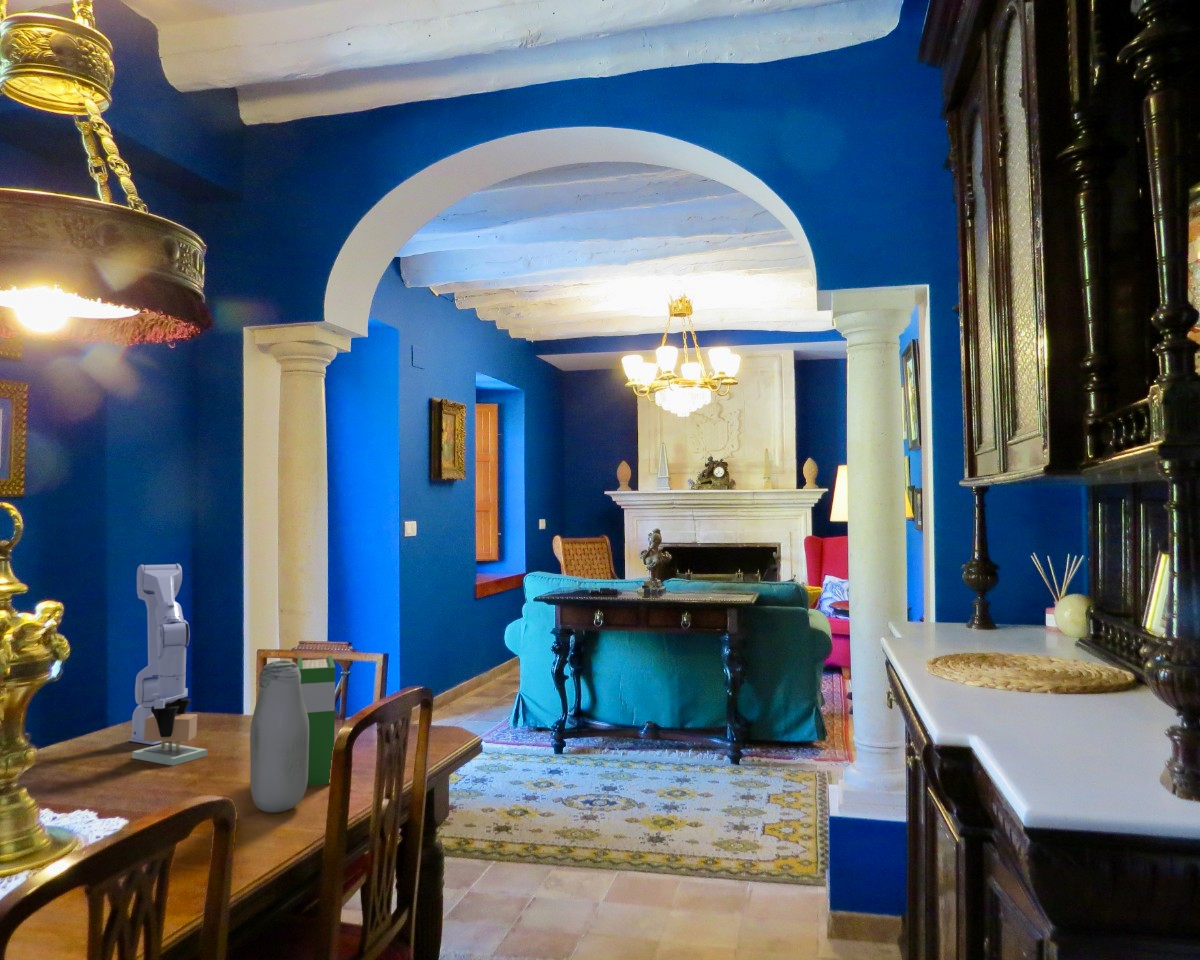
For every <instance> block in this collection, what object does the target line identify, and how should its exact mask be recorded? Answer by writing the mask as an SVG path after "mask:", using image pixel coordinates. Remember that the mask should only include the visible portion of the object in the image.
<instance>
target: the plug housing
mask: <svg viewBox="0 0 1200 960" xmlns="http://www.w3.org/2000/svg"><path fill="white" fill-rule="evenodd" d="M197 726H198V714H196V713H195V714H193V713H190V714H189V713H185V714H176V715H175V719H174V724H173V731H172V735H171V736H170V737H161V736H160V732H159V728H158V724H157V721H156V718H155V716H154V715H151V716H149V717H148V718H146V719H145V734H144V741H167V742H169V741H172V742H176V741H180V742H189V741H191V740H192V739H194V738H195V737H196V736H197V728H198V727H197Z"/></svg>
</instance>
